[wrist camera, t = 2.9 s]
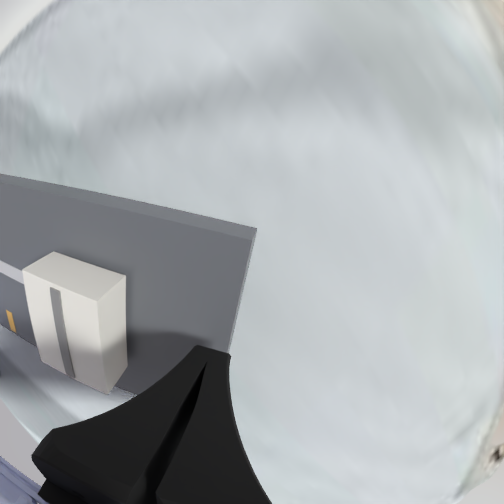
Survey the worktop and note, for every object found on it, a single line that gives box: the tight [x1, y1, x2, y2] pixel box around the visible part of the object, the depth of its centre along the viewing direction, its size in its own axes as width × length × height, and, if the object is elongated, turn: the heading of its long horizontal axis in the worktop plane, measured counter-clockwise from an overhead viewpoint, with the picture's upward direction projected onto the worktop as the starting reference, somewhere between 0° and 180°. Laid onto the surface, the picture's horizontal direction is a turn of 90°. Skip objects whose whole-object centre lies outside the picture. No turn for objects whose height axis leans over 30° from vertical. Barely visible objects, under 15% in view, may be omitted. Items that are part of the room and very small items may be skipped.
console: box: [0, 174, 257, 395], centre depth 13 cm, size 20×10×2 cm, turn 78°
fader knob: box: [22, 251, 128, 395], centre depth 11 cm, size 4×5×2 cm
